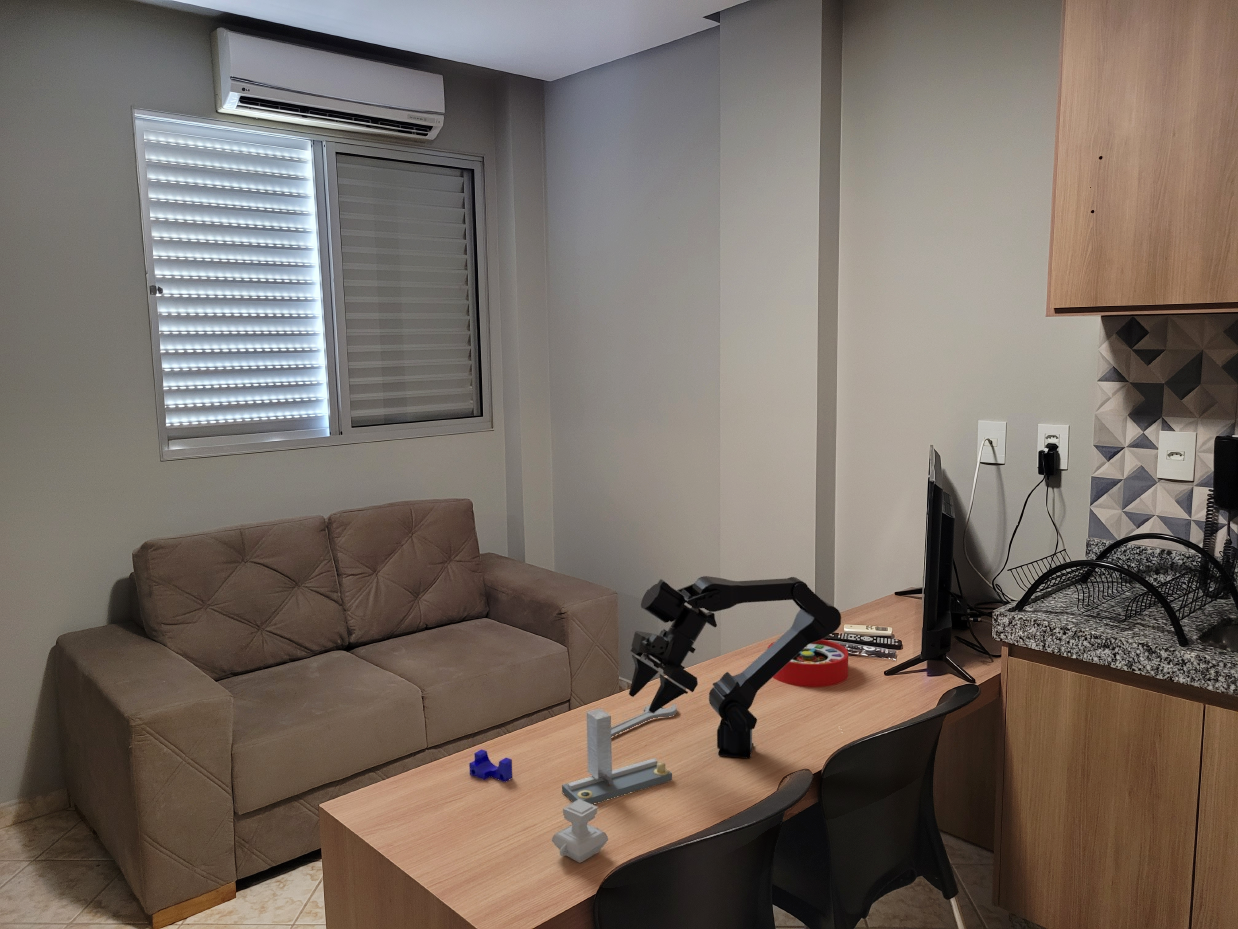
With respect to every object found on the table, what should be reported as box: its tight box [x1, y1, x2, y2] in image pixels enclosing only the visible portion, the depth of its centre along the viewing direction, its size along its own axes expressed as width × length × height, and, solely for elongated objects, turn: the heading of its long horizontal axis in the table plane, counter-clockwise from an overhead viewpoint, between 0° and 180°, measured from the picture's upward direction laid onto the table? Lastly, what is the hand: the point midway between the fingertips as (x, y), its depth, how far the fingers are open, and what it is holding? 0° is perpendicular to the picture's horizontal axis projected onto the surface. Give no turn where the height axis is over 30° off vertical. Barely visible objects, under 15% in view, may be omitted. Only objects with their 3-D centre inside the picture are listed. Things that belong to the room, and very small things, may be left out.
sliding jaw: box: [586, 708, 613, 786], centre depth 167 cm, size 3×6×13 cm, turn 30°
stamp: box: [551, 799, 609, 864], centre depth 146 cm, size 9×7×8 cm
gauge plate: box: [561, 757, 673, 805], centre depth 169 cm, size 20×7×3 cm, turn 120°
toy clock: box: [767, 639, 849, 688], centre depth 225 cm, size 20×6×20 cm
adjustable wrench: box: [611, 703, 678, 737], centre depth 196 cm, size 25×6×2 cm, turn 130°
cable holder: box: [468, 749, 513, 783], centre depth 174 cm, size 8×4×4 cm, turn 55°
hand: (640, 703), depth 174 cm, fingers open, 9 cm apart
